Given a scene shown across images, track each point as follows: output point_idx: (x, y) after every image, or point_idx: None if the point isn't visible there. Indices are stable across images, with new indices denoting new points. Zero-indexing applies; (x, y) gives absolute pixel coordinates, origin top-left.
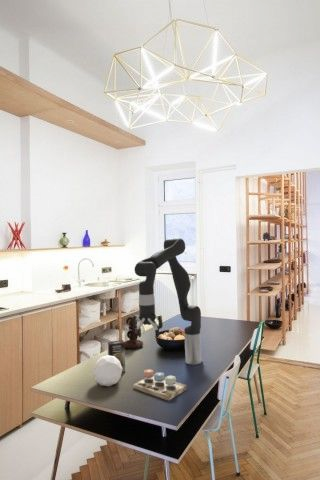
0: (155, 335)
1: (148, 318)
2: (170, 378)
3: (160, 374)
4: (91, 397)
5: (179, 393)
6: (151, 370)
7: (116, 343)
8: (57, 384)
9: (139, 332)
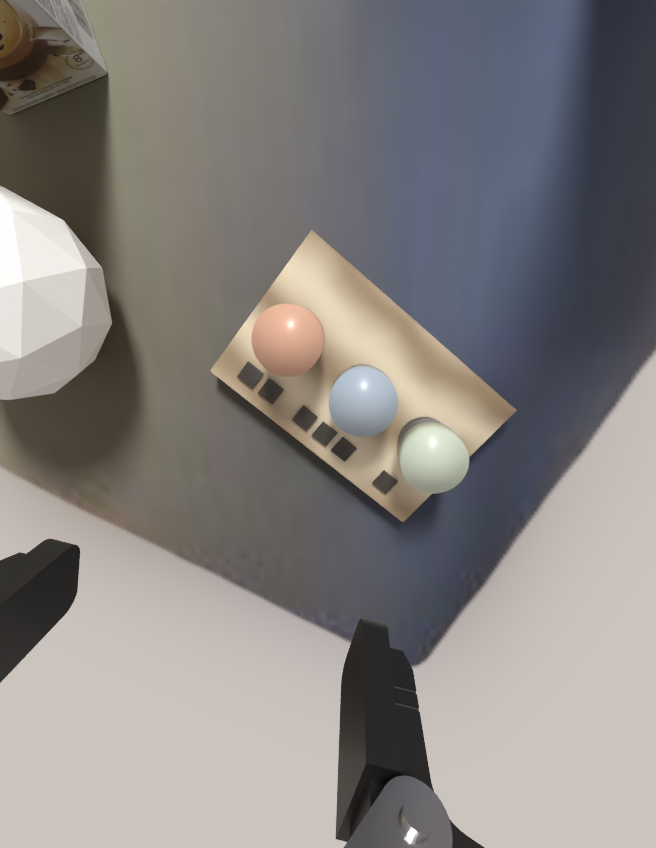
0: (341, 708)
1: None
2: (433, 474)
3: (371, 406)
4: (38, 449)
5: None
6: (306, 327)
7: None
8: None
9: (2, 677)
